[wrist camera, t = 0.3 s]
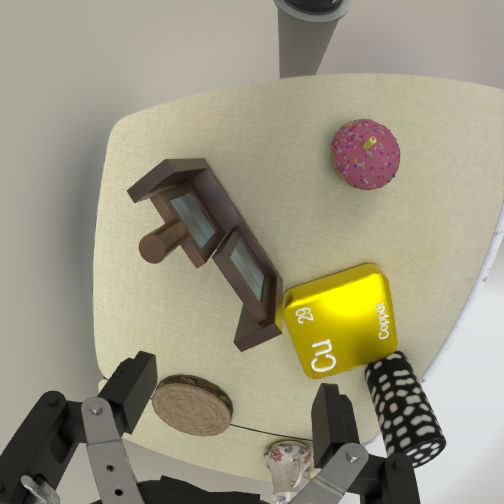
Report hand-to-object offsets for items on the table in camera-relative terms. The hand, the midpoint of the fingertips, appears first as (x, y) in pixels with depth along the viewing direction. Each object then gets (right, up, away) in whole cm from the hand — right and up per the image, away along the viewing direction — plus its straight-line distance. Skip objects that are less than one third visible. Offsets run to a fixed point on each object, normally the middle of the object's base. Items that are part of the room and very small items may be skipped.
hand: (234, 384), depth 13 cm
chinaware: (+12, -40, +42) cm, 59 cm away
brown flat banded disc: (-11, -24, +39) cm, 47 cm away
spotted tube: (+25, -14, +32) cm, 43 cm away
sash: (-5, +11, +24) cm, 27 cm away
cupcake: (+15, +19, +22) cm, 32 cm away
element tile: (+14, -4, +30) cm, 33 cm away
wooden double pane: (-2, +9, +27) cm, 28 cm away
